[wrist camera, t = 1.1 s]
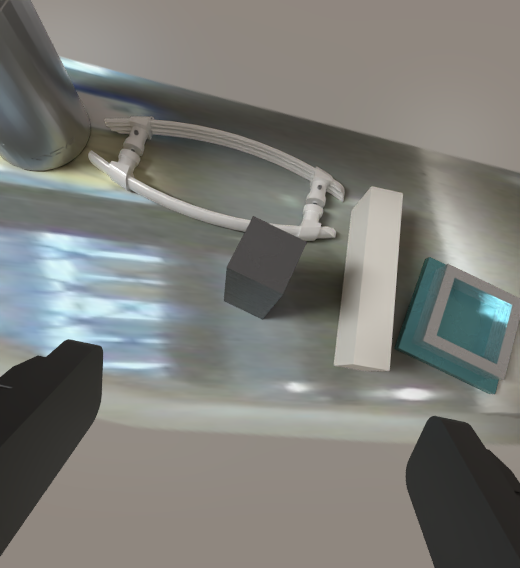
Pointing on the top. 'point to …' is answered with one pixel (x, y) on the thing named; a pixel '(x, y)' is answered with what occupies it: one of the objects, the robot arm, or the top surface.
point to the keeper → (460, 325)
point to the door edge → (370, 283)
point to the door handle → (148, 127)
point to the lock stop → (261, 267)
